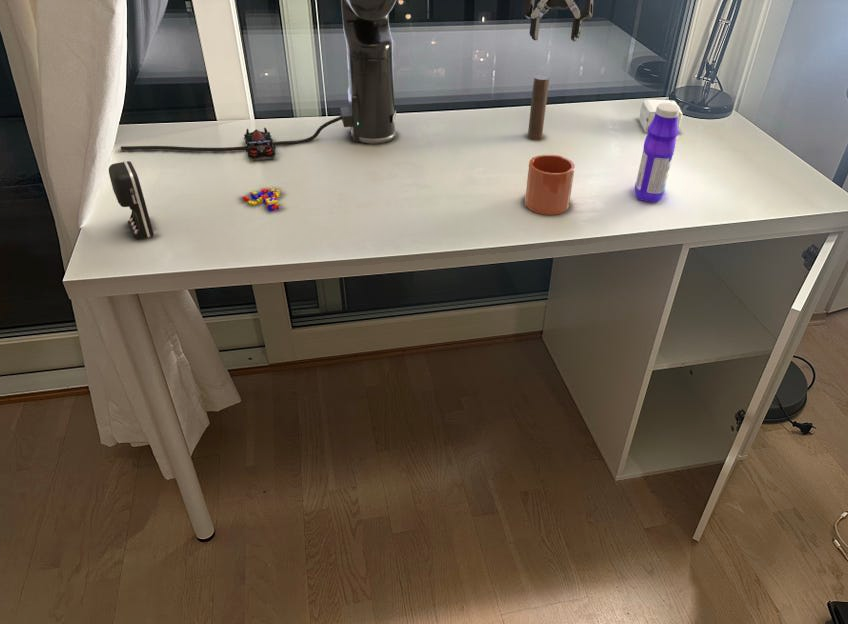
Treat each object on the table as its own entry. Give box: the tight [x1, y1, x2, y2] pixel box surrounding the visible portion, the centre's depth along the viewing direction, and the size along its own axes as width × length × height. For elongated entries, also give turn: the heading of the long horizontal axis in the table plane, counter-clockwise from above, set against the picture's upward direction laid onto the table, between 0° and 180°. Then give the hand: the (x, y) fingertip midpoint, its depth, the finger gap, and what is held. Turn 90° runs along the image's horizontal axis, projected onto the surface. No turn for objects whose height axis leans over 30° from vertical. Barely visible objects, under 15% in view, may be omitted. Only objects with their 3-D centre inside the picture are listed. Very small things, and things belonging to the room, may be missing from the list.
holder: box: [524, 154, 576, 216], centre depth 130 cm, size 8×8×8 cm
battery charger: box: [108, 160, 155, 239], centre depth 115 cm, size 7×4×11 cm, turn 30°
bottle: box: [634, 103, 681, 203], centre depth 131 cm, size 7×6×17 cm
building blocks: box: [242, 186, 281, 212], centre depth 128 cm, size 6×8×2 cm
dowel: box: [527, 74, 550, 141], centre depth 152 cm, size 3×3×13 cm
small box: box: [638, 99, 684, 134], centre depth 162 cm, size 8×8×5 cm
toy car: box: [243, 126, 277, 161], centre depth 144 cm, size 6×12×4 cm, turn 18°
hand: (553, 39), depth 147 cm, fingers open, 8 cm apart
